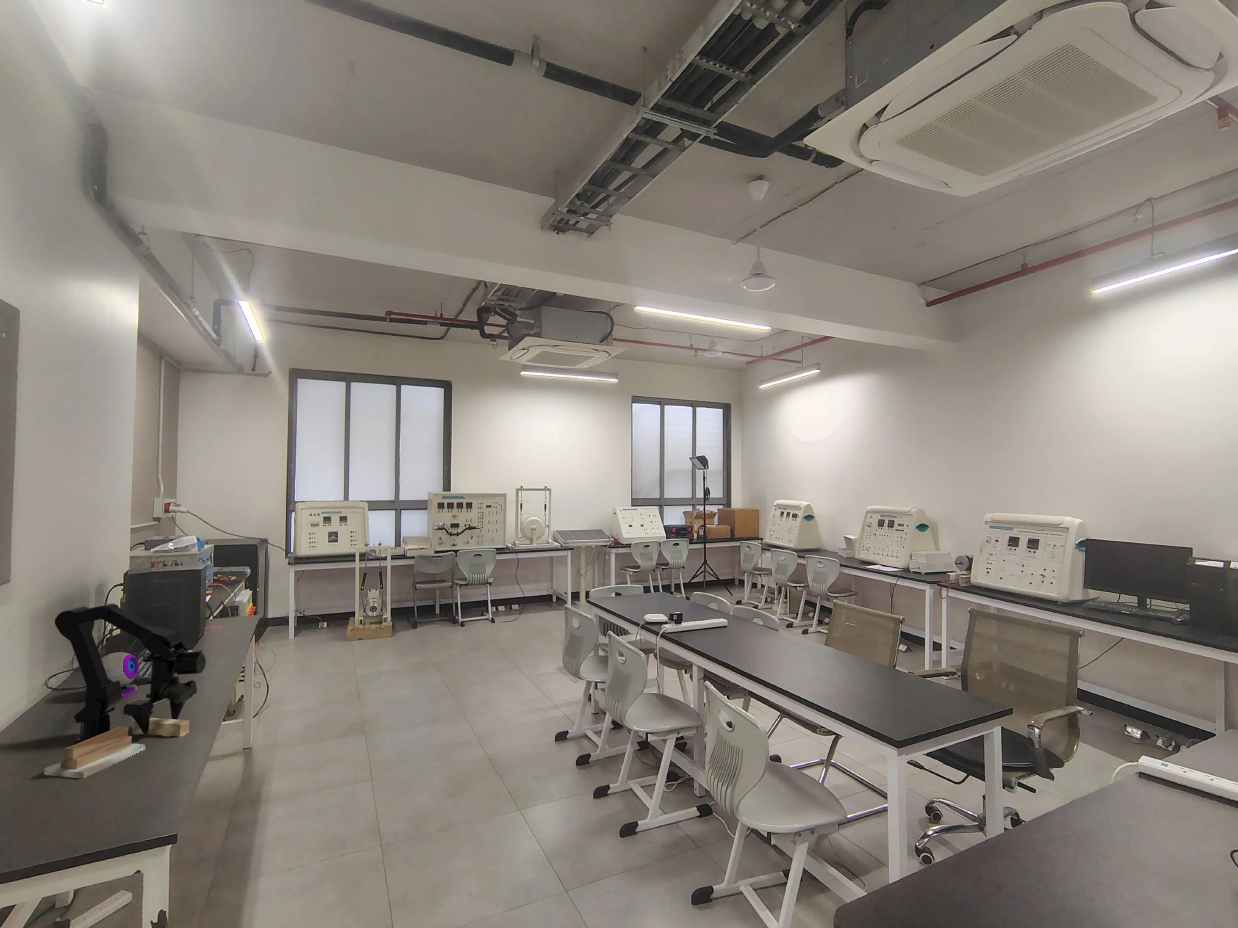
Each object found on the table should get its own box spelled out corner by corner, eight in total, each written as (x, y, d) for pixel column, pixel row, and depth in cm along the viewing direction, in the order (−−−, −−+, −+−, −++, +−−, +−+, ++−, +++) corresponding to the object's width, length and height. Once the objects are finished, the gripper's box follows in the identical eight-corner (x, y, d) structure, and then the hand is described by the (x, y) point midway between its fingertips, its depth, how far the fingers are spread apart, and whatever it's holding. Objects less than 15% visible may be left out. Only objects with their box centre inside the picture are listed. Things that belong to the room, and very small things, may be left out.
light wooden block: (132, 734, 169) (132, 721, 169) (141, 730, 172) (142, 717, 172) (179, 737, 167) (180, 724, 167) (188, 733, 170) (189, 720, 170)
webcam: (124, 700, 195) (127, 656, 196) (79, 703, 192) (82, 659, 192) (144, 687, 208) (146, 646, 208) (102, 690, 204) (104, 649, 205)
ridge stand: (44, 774, 144) (45, 748, 145) (109, 746, 160) (110, 723, 160) (83, 778, 143) (84, 752, 143) (145, 749, 158) (146, 726, 159)
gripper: (156, 687, 160) (153, 742, 159) (212, 666, 178) (210, 716, 177) (123, 684, 161) (120, 739, 160) (182, 665, 180) (180, 714, 179)
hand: (160, 727), depth 169 cm, fingers open, 9 cm apart
